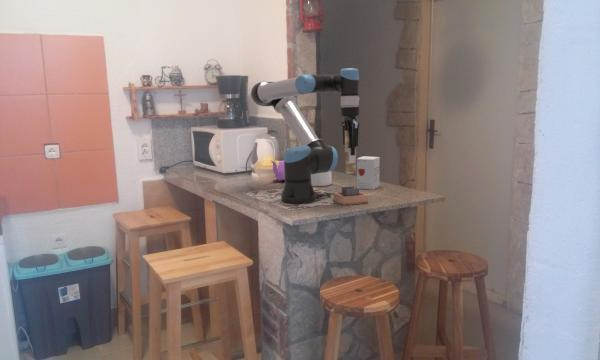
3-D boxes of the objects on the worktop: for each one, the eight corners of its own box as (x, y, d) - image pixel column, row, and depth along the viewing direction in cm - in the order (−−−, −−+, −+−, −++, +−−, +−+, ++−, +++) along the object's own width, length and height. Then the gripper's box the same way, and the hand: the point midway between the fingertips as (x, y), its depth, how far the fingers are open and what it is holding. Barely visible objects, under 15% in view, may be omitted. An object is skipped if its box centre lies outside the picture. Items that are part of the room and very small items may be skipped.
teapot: (280, 185, 249) (279, 161, 247) (263, 182, 260) (262, 159, 257) (308, 180, 262) (308, 157, 260) (291, 177, 273) (291, 155, 270)
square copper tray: (343, 205, 201) (343, 191, 199) (333, 200, 211) (333, 186, 210) (367, 203, 204) (367, 189, 203) (356, 198, 214) (356, 184, 213)
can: (322, 187, 240) (321, 147, 236) (302, 185, 248) (301, 146, 244) (336, 183, 250) (335, 145, 246) (316, 181, 257) (315, 144, 254)
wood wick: (347, 173, 203) (346, 130, 200) (345, 172, 205) (344, 130, 202) (356, 172, 204) (355, 130, 201) (353, 172, 207) (353, 130, 204)
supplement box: (356, 188, 235) (356, 158, 233) (362, 185, 243) (362, 155, 241) (373, 189, 231) (374, 159, 229) (379, 186, 239) (380, 156, 236)
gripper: (366, 106, 194) (366, 164, 198) (350, 105, 208) (351, 159, 213) (348, 106, 192) (349, 165, 196) (334, 106, 206) (335, 160, 210)
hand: (350, 162), depth 204 cm, fingers closed on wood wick, 2 cm apart
